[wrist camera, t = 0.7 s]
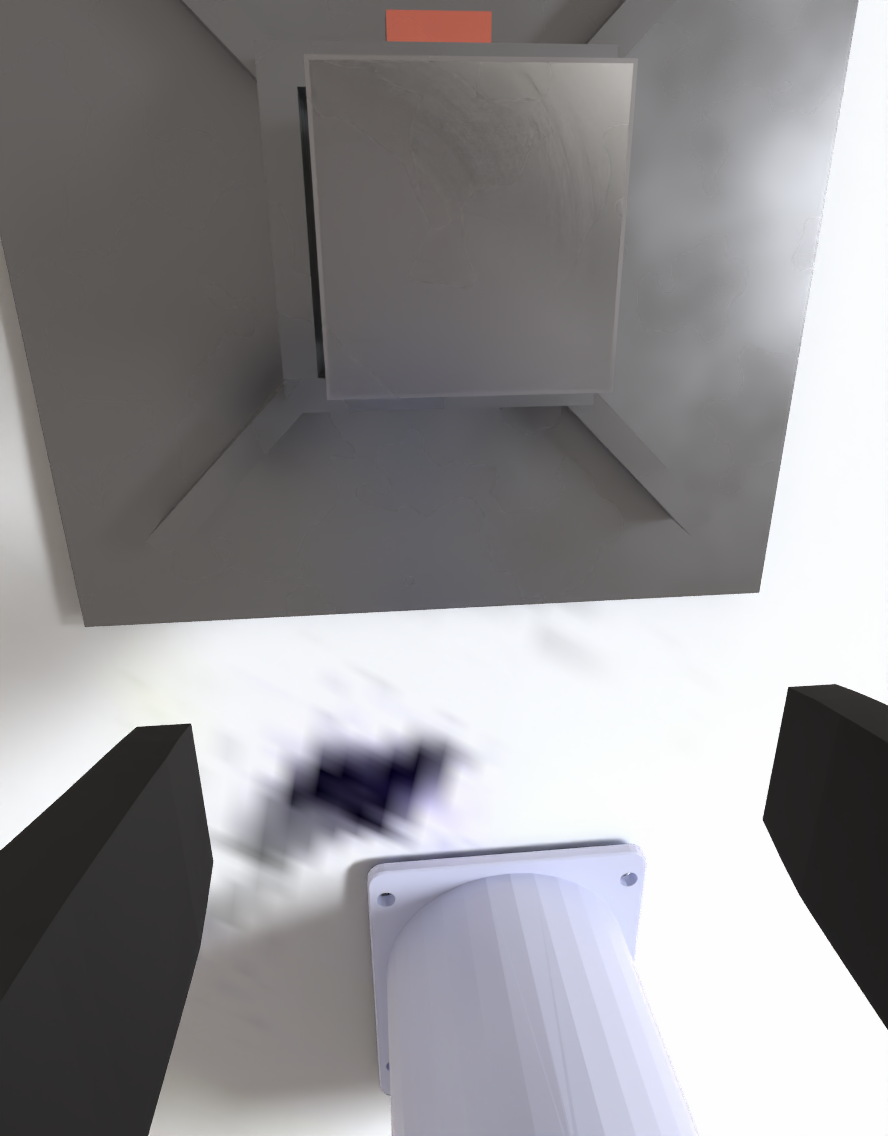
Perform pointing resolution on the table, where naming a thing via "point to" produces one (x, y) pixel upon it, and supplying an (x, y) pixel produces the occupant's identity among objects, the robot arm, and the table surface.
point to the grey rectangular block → (469, 221)
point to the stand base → (294, 324)
